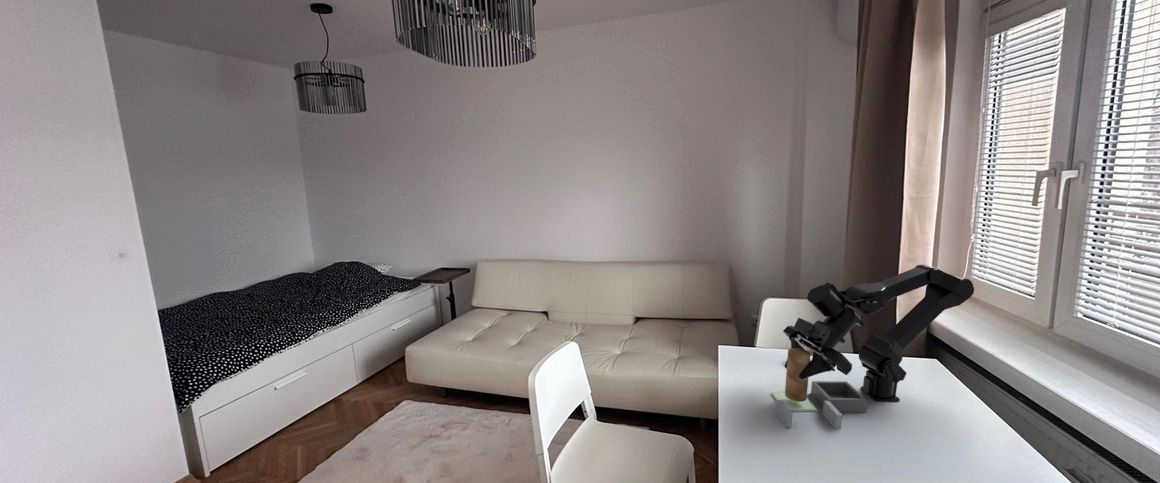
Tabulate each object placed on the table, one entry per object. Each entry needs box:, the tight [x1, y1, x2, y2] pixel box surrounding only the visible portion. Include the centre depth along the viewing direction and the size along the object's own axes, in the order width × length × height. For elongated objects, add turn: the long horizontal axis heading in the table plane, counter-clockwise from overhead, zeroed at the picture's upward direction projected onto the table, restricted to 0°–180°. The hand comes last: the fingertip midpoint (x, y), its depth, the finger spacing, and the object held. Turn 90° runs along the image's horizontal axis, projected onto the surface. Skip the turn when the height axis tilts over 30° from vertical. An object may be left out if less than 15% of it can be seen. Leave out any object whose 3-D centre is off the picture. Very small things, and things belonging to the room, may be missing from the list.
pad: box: [771, 391, 818, 412], centre depth 113 cm, size 8×8×1 cm
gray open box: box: [810, 380, 868, 414], centre depth 112 cm, size 9×9×4 cm
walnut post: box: [784, 347, 811, 402], centre depth 110 cm, size 5×5×12 cm
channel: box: [776, 400, 843, 430], centre depth 105 cm, size 12×6×4 cm, turn 87°
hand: (792, 373), depth 110 cm, fingers closed on walnut post, 5 cm apart
